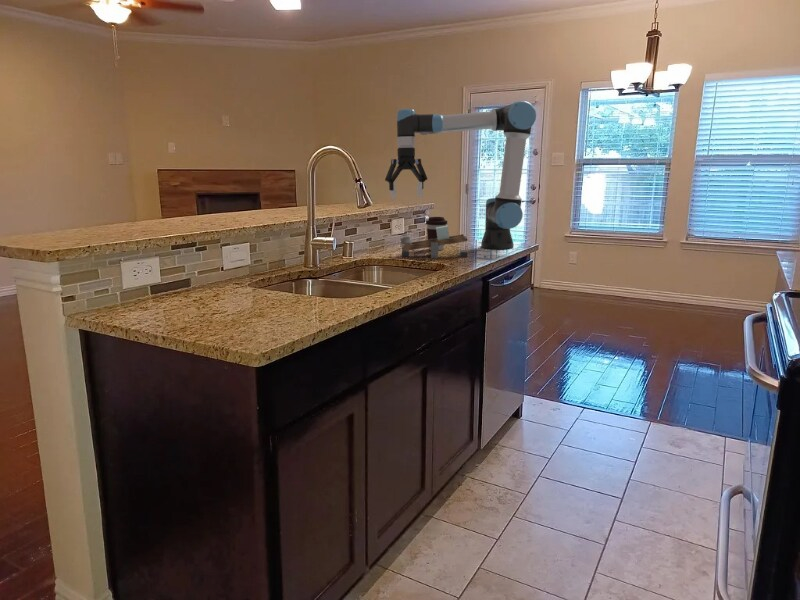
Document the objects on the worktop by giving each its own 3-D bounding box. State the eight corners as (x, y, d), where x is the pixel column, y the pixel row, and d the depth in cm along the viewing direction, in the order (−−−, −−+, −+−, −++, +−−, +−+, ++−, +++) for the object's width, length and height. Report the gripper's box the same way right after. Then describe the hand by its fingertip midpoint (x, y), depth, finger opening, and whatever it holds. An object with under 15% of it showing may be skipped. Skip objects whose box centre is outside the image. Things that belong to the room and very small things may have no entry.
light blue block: (449, 239, 243) (447, 225, 242) (449, 240, 239) (447, 226, 238) (438, 240, 244) (436, 227, 243) (438, 242, 239) (436, 228, 238)
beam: (466, 239, 245) (464, 225, 244) (467, 241, 237) (465, 228, 235) (403, 248, 248) (401, 236, 246) (402, 251, 239) (400, 238, 238)
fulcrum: (466, 254, 248) (466, 238, 247) (467, 258, 237) (467, 242, 235) (403, 254, 250) (402, 238, 248) (401, 258, 238) (401, 242, 237)
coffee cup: (423, 250, 259) (423, 218, 256) (428, 247, 269) (428, 216, 265) (444, 251, 257) (444, 218, 253) (449, 248, 266) (449, 216, 262)
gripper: (425, 147, 249) (425, 196, 254) (376, 147, 237) (377, 198, 242) (435, 147, 243) (435, 196, 248) (385, 146, 231) (386, 199, 236)
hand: (406, 197), depth 245 cm, fingers open, 13 cm apart
